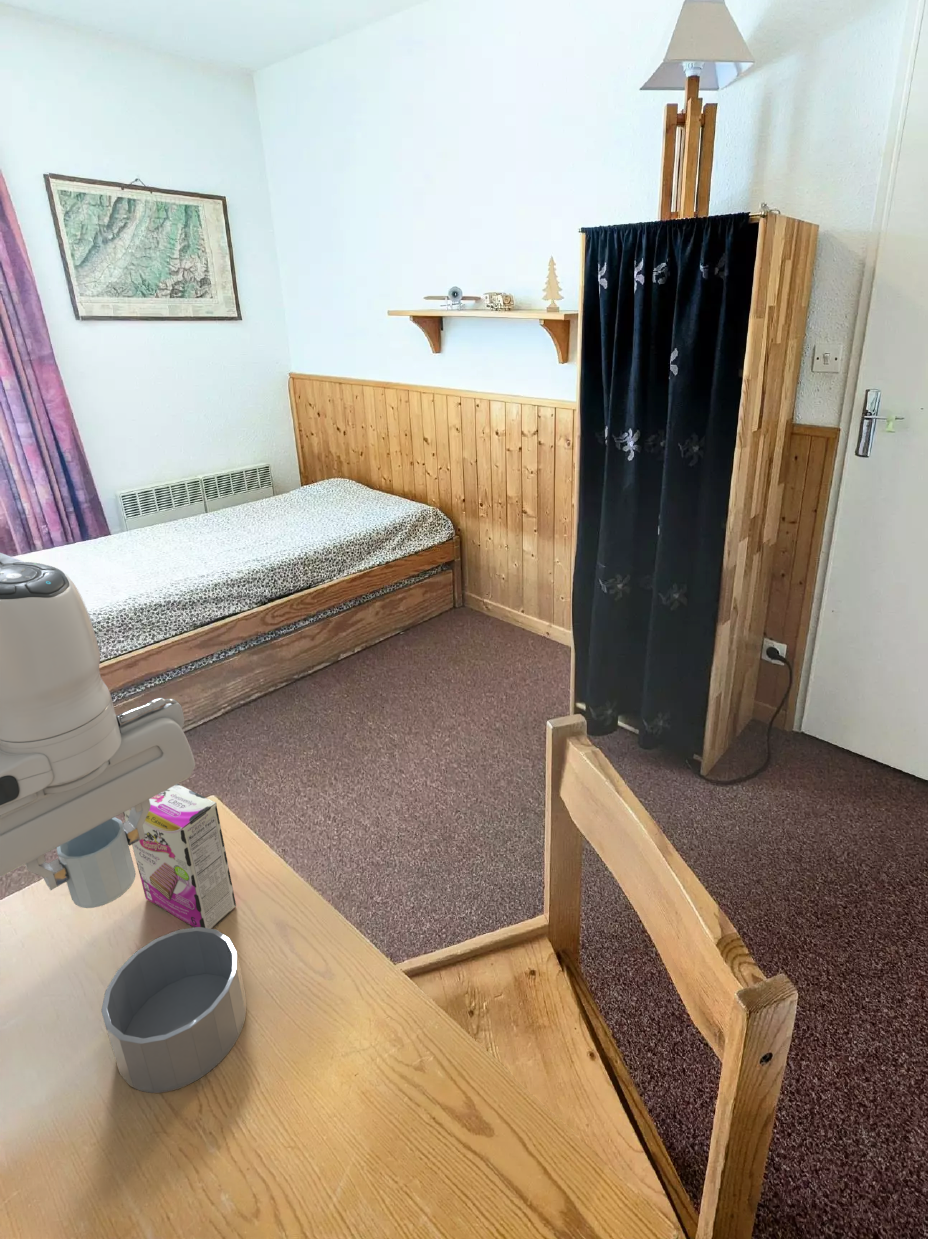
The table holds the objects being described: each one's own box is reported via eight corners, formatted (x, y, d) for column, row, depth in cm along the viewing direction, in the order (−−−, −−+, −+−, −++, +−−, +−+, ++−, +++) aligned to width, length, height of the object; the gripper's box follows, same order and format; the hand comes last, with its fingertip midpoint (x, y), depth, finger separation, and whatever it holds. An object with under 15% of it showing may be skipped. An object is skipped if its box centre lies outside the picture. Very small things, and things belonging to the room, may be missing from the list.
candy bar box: (142, 902, 84) (115, 795, 78) (178, 873, 88) (154, 770, 82) (204, 939, 79) (180, 828, 73) (238, 907, 83) (218, 799, 77)
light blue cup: (62, 889, 66) (47, 840, 63) (122, 854, 70) (109, 808, 67) (84, 919, 62) (68, 869, 60) (145, 881, 66) (133, 833, 64)
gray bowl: (96, 1037, 68) (81, 988, 66) (211, 953, 77) (202, 907, 75) (149, 1124, 61) (134, 1072, 59) (269, 1020, 70) (261, 972, 68)
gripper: (163, 679, 69) (187, 789, 74) (-92, 784, 55) (-42, 912, 59) (193, 701, 66) (216, 814, 70) (-73, 819, 51) (-20, 953, 56)
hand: (96, 860), depth 65 cm, fingers closed on light blue cup, 5 cm apart
